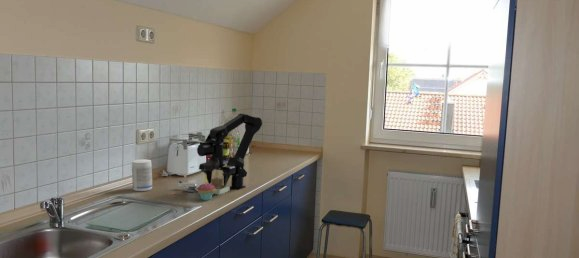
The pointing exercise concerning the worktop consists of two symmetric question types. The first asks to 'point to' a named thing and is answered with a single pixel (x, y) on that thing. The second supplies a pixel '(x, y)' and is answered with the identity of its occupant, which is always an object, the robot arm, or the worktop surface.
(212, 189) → the cupcake
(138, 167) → the supplement tub
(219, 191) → the tray
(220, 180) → the stop block
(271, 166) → the worktop surface
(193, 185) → the crank
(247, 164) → the worktop surface
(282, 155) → the worktop surface
